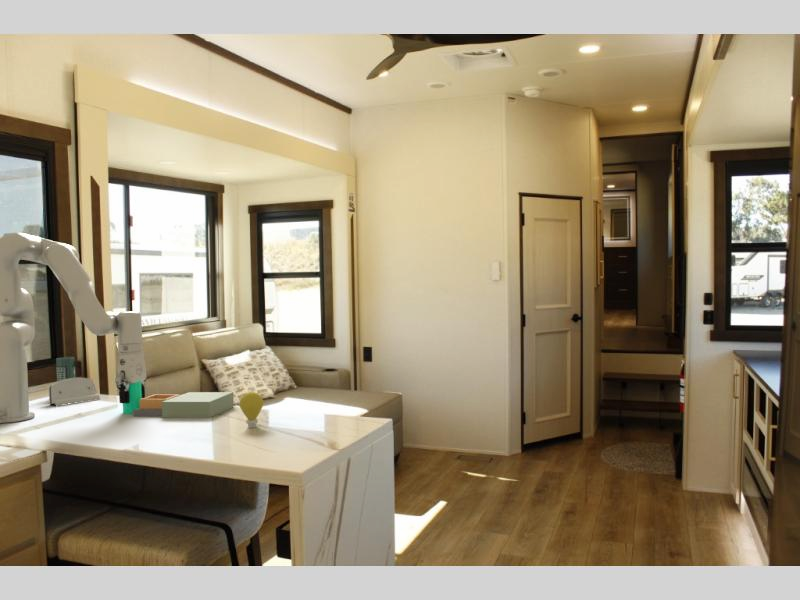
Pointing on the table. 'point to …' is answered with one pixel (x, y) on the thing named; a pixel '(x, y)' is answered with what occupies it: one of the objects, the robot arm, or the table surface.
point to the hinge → (72, 391)
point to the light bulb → (251, 407)
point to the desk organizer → (185, 405)
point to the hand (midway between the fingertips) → (132, 400)
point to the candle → (133, 398)
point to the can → (65, 368)
